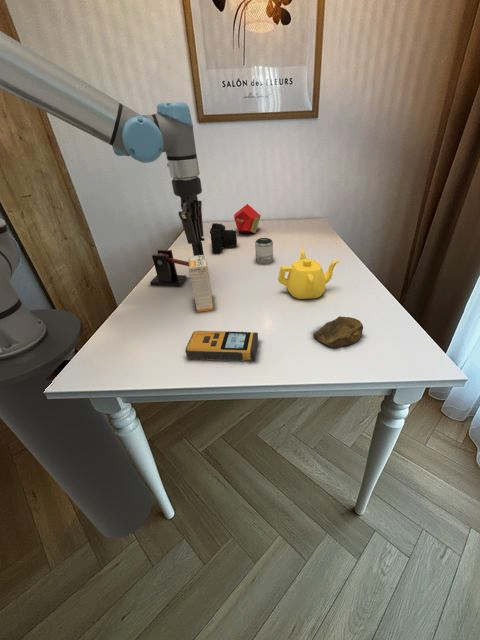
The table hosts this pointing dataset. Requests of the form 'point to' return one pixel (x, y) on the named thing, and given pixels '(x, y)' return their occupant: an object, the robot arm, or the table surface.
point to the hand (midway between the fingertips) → (200, 263)
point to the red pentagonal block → (247, 219)
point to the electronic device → (222, 345)
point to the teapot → (306, 277)
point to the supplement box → (200, 282)
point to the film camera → (221, 238)
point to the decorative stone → (340, 332)
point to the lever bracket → (166, 271)
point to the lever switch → (175, 260)
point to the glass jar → (264, 250)
